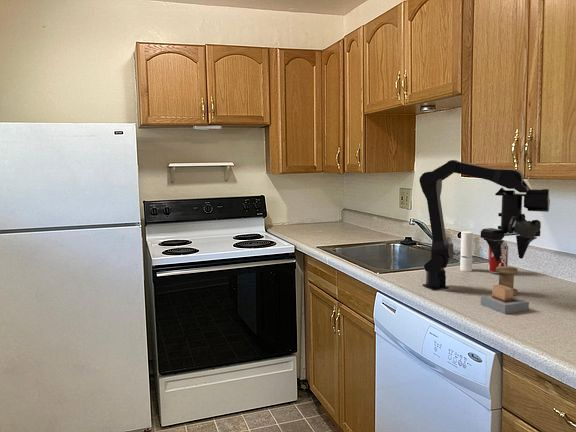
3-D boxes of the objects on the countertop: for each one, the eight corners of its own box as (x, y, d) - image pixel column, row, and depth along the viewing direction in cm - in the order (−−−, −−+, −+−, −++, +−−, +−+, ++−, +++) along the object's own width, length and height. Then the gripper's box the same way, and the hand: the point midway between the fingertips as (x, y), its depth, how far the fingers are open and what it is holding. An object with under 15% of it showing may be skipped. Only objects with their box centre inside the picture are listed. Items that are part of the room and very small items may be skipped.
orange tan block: (491, 304, 148) (492, 285, 147) (499, 303, 149) (500, 284, 148) (504, 309, 143) (504, 289, 142) (512, 308, 144) (513, 288, 143)
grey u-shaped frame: (480, 304, 148) (480, 296, 148) (503, 301, 151) (503, 293, 151) (504, 313, 139) (505, 305, 139) (528, 310, 142) (528, 301, 142)
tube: (469, 268, 193) (470, 231, 191) (473, 271, 189) (474, 232, 187) (458, 269, 193) (459, 231, 191) (462, 271, 189) (463, 233, 187)
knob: (489, 290, 162) (490, 267, 161) (506, 288, 165) (507, 265, 164) (505, 296, 156) (506, 271, 155) (522, 294, 158) (523, 269, 157)
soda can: (485, 273, 186) (486, 242, 185) (491, 269, 191) (493, 239, 190) (503, 275, 182) (504, 244, 180) (509, 272, 187) (511, 241, 185)
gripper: (507, 214, 141) (505, 267, 143) (556, 211, 147) (553, 262, 149) (480, 210, 152) (478, 260, 154) (527, 207, 158) (524, 255, 160)
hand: (509, 259), depth 154 cm, fingers open, 9 cm apart
